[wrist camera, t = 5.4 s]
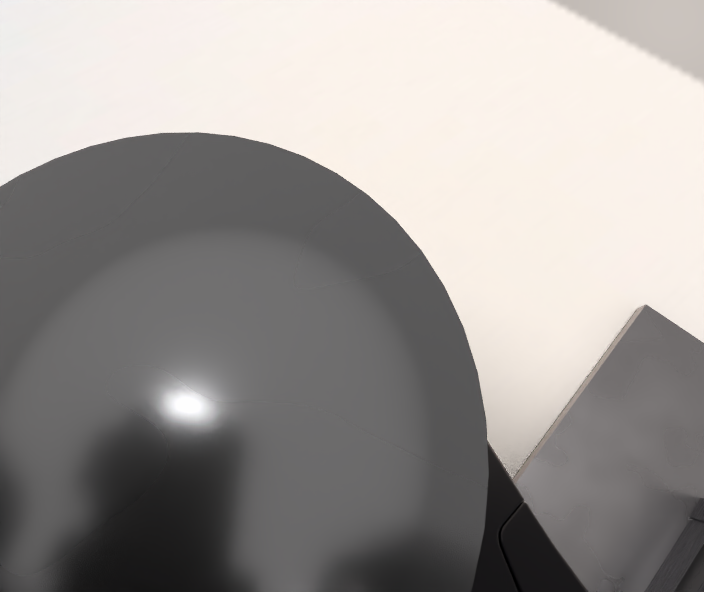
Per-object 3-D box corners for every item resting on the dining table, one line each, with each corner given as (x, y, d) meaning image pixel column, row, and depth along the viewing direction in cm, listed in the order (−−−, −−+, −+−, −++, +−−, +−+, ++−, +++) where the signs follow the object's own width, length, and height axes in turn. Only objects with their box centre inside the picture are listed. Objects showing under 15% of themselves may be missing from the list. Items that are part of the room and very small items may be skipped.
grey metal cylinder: (323, 528, 15) (-184, 1261, 2) (264, 416, 16) (-290, 320, 3) (429, 457, 15) (708, 588, 2) (364, 353, 17) (276, 21, 3)
